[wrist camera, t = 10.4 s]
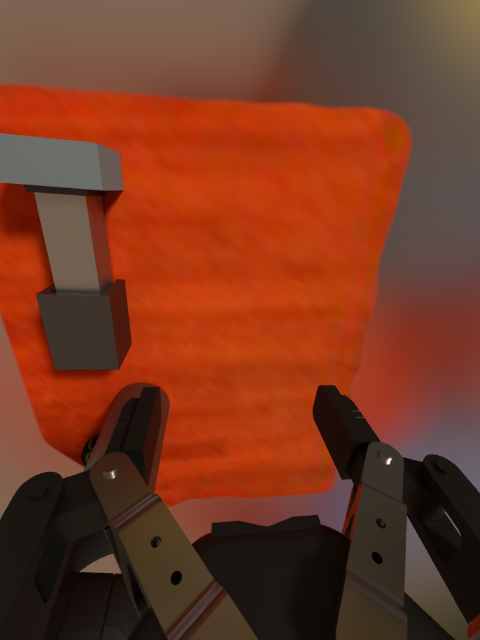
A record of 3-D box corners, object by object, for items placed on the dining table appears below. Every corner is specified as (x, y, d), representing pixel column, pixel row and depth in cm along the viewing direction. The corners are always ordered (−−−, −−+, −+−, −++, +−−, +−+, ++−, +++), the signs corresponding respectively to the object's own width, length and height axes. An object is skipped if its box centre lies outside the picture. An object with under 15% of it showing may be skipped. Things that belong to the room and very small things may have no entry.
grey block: (123, 190, 34) (102, 190, 27) (35, 183, 32) (-9, 181, 26) (119, 152, 32) (96, 143, 25) (26, 144, 31) (-23, 131, 24)
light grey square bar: (118, 300, 39) (104, 316, 34) (75, 299, 38) (55, 315, 33) (101, 165, 32) (81, 160, 27) (48, 160, 31) (17, 155, 26)
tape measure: (90, 456, 52) (82, 474, 49) (85, 430, 50) (76, 447, 46) (127, 455, 53) (122, 473, 50) (124, 429, 50) (118, 446, 47)
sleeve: (131, 344, 43) (119, 369, 37) (77, 343, 42) (55, 369, 36) (124, 279, 38) (109, 296, 32) (63, 277, 37) (35, 294, 31)
